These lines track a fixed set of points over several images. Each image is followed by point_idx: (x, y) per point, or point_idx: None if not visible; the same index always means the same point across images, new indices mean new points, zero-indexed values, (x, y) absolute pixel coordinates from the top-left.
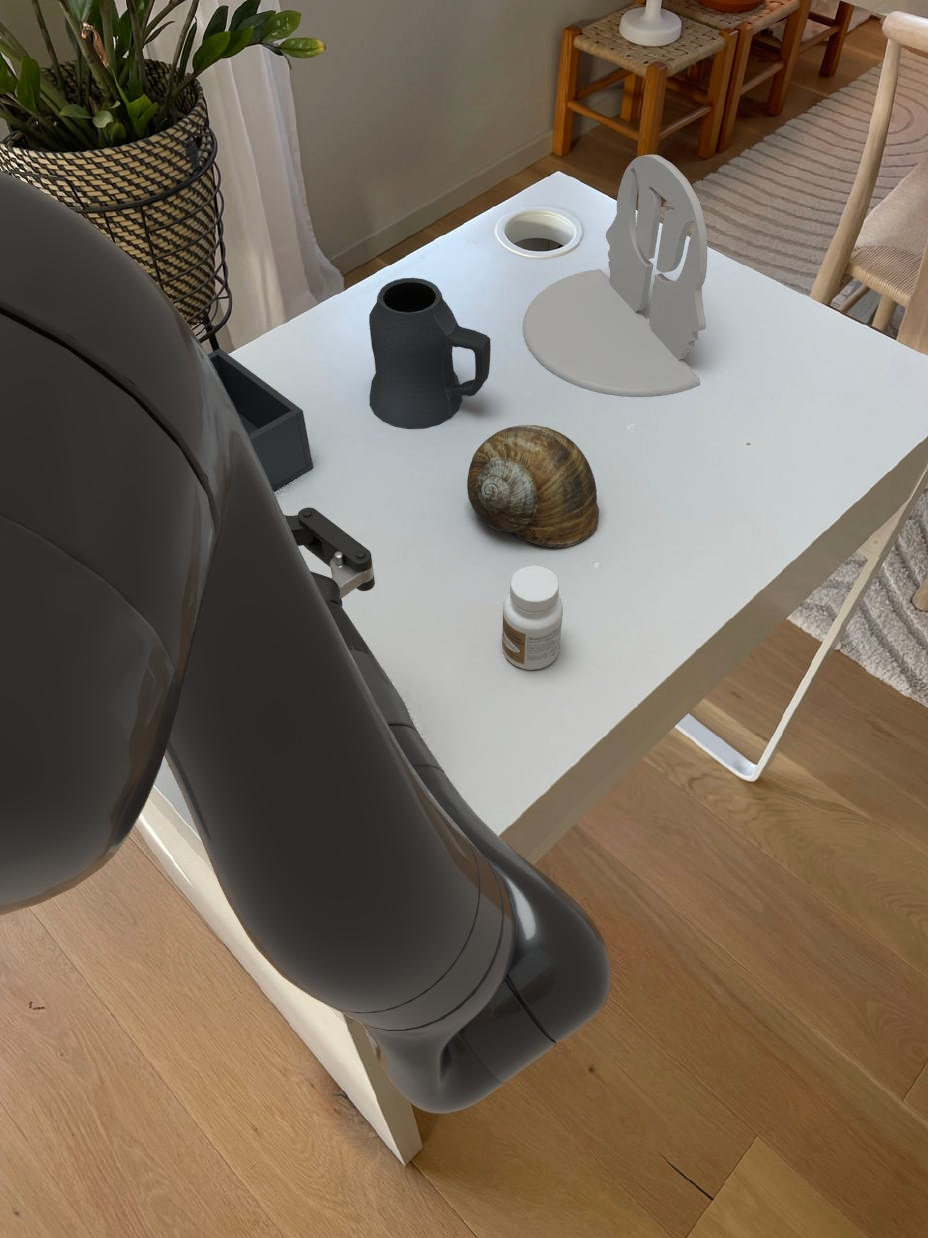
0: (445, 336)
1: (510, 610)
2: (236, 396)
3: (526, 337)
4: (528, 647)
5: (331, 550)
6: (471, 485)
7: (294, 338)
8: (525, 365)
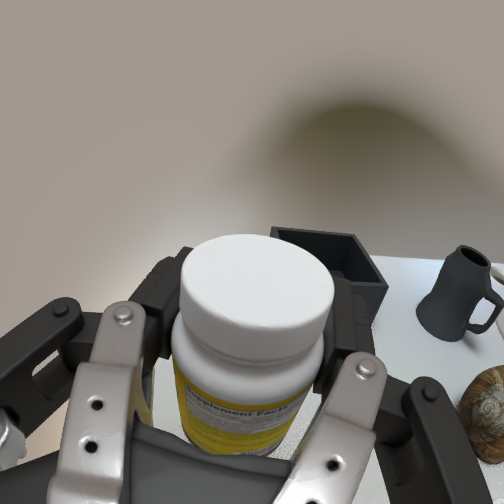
0: (485, 289)
1: None
2: (348, 264)
3: (497, 318)
4: None
5: (434, 502)
6: (470, 396)
7: (388, 260)
8: (494, 332)
